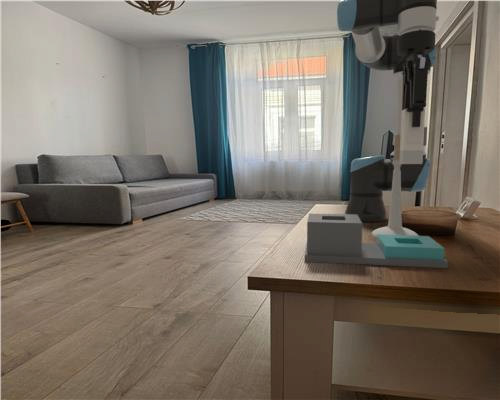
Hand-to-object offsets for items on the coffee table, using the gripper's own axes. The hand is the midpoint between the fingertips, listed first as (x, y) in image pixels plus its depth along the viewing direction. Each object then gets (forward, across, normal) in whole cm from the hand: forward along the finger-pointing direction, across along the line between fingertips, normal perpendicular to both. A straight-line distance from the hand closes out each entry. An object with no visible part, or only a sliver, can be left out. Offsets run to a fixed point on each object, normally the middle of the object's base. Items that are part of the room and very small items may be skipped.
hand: (411, 143), depth 82 cm
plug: (+5, 0, 0) cm, 5 cm away
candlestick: (+27, +23, -2) cm, 35 cm away
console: (+27, 0, +8) cm, 28 cm away
